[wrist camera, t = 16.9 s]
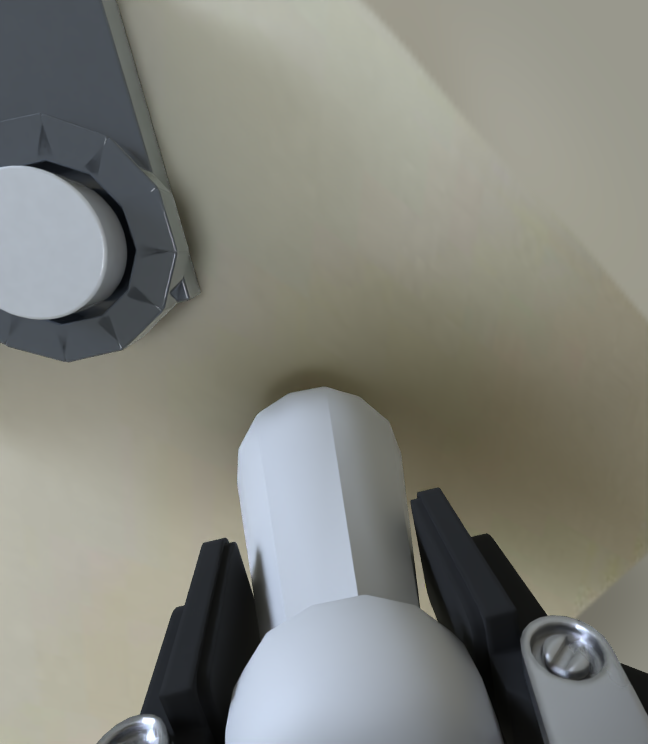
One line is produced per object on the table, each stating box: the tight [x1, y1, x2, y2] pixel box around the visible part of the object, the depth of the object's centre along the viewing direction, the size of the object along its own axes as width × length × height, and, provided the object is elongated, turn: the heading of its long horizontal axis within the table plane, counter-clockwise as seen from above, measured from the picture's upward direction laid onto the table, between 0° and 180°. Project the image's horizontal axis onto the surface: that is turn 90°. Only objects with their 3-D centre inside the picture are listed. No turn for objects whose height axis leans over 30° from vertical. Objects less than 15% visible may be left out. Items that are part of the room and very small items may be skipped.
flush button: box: [0, 165, 127, 320], centre depth 13 cm, size 4×4×2 cm
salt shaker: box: [225, 386, 504, 744], centre depth 12 cm, size 6×6×13 cm
